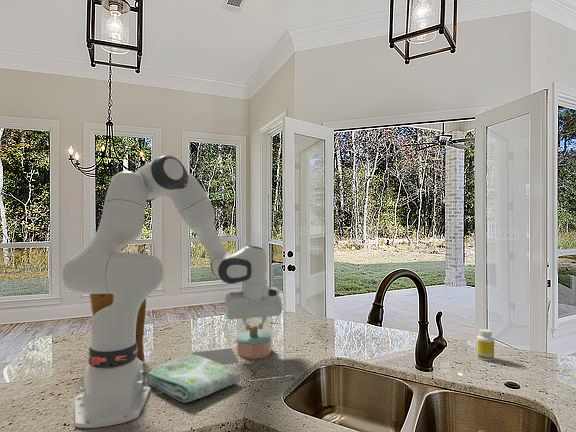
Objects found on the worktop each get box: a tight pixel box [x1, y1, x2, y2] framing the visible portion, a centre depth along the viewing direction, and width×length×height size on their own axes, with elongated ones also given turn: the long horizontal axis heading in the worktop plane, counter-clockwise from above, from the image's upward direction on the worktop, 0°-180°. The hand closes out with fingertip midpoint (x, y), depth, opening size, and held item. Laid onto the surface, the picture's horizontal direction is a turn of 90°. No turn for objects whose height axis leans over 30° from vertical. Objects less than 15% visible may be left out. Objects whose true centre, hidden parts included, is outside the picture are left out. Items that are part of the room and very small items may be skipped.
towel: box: [147, 354, 241, 403], centre depth 112 cm, size 18×21×5 cm
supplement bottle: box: [476, 328, 495, 362], centre depth 135 cm, size 5×5×10 cm
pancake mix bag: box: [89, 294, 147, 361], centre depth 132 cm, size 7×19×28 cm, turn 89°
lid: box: [235, 324, 272, 345], centre depth 139 cm, size 12×12×4 cm
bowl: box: [235, 339, 272, 359], centre depth 139 cm, size 12×12×5 cm
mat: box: [192, 348, 240, 365], centre depth 133 cm, size 14×14×1 cm
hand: (253, 329), depth 139 cm, fingers open, 3 cm apart
